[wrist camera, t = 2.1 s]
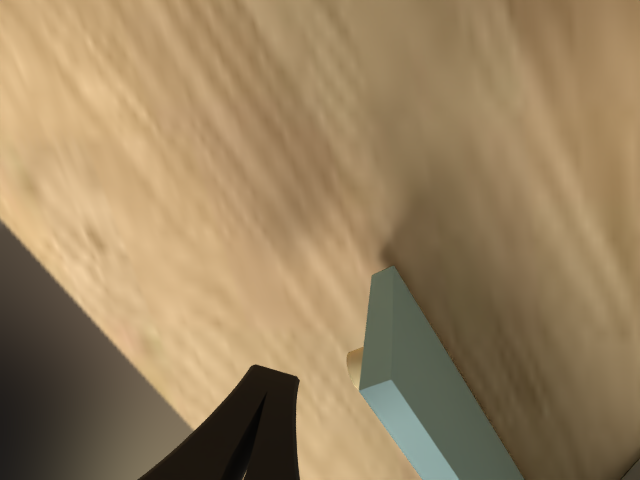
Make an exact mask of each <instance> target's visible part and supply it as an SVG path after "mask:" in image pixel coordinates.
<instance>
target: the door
mask: <svg viewBox="0 0 640 480" xmlns="http://www.w3.org/2000/svg"><path fill="white" fill-rule="evenodd" d="M347 368H348V372H349V375H350V378H351V380H352V382H353V384H354V386H355V387H356V388H357V390H358V391H359V392H360V393H361V395H362V396H363V397H364V399H365V400H366V402H367V403H368V404H369V406H370V407H371V409H372V410H373V411H374V413H375V414H376V416H377V417H378V418H379V420H380V421H381V423H382V424H383V425H384V427H385V428H386V430H387V431H388V432H389V434H390V435H391V437H392V438H393V439H394V441H395V442H396V444H397V445H398V446H399V448H400V449H401V451H402V452H403V453H404V455H405V456H406V457H407V459H408V460H409V462H410V463H411V464H412V466H413V467H414V469H415V470H416V471H417V473H418V474H419V476H420V477H421V478H422V480H524V478H523V476H522V475H521V473H520V471H519V470H518V468H517V466H516V465H515V463H514V462H513V460H512V458H511V457H510V455H509V453H508V452H507V450H506V448H505V447H504V445H503V443H502V442H501V440H500V439H499V437H498V435H497V434H496V432H495V430H494V429H493V427H492V425H491V424H490V422H489V421H488V419H487V417H486V416H485V414H484V412H483V411H482V409H481V407H480V406H479V404H478V403H477V401H476V399H475V398H474V396H473V394H472V393H471V391H470V389H469V388H468V386H467V385H466V383H465V381H464V380H463V378H462V376H461V375H460V373H459V371H458V370H457V368H456V366H455V365H454V363H453V362H452V360H451V358H450V357H449V355H448V353H447V352H446V350H445V348H444V347H443V345H442V344H441V342H440V340H439V339H438V337H437V335H436V334H435V332H434V330H433V329H432V327H431V326H430V324H429V322H428V321H427V319H426V317H425V316H424V314H423V312H422V311H421V309H420V308H419V306H418V304H417V303H416V301H415V299H414V298H413V296H412V294H411V293H410V291H409V289H408V288H407V286H406V285H405V283H404V281H403V280H402V278H401V276H400V275H399V273H398V271H397V270H396V268H395V267H394V266H391V267H389V268H387V269H385V270H382V271H380V272H378V273H376V274H374V275H372V279H371V287H370V296H369V305H368V314H367V322H366V331H365V340H364V347H362V348H359V349H357V350H354V351H351V352H349V353H348V355H347Z"/></svg>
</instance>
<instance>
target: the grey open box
mask: <svg viewBox="0 0 640 480" xmlns="http://www.w3.org/2000/svg"><path fill="white" fill-rule="evenodd" d="M621 480H640V459H639V460H638V461H637V462H636V463H635V465H634V466H633V467H632V468H631V469H630V470H629V471H628V473H627V474H626V475H625V476H624V477H623V478H622V479H621Z"/></svg>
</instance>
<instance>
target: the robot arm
mask: <svg viewBox="0 0 640 480" xmlns="http://www.w3.org/2000/svg"><path fill="white" fill-rule="evenodd" d="M299 382H300V380H299V379H298V377H297V376H293V375H290V374H286V373H283V372H280V371H276V370H273V369H269V368H266V367H263V366H259V365H256V364H255V365H253V366H251V367H250V368H249V370H248V371H247V373H246V374H245V376H244V377H243V378H242V380H241V381H240V382H239V383H238V385H237V386H236V387H235V388H234V390H233V391H232V392H231V393H230V394H229V395H228V397H227V398H226V399H225V400H224V401H223V402H222V403H221V404H220V405H219V406H218V407H217V408H216V410H215V411H214V412H213V413H212V414H211V415H210V416H209V417H208V418H207V419H206V420H205V421H204V422H203V423H202V424H201V425H200V426H199V427H198V428H197V429H196V430H195V431H194V432H193V433H192V434H191V435H189V436H188V438H186V439H185V440H184V441H183V442H182V443H181V444H180V445H179V446H178V447H177V448H176V449H174V450H173V451H172V452H171V453H170V454H169V455H167V456H166V457H165V458H164V459H163V460H162V461H160V462H159V463H158V464H157V465H156V466H154V467H153V468H152V469H151V470H149V471H148V472H147V473H146V474H144V475H143V476H142V477H140V478H139V479H138V480H242V479H243V477H244V475H245V477H244V480H300V477H299V468H298V457H297V440H296V402H297V392H298V386H299ZM246 470H247V471H246ZM245 473H246V474H245Z"/></svg>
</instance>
